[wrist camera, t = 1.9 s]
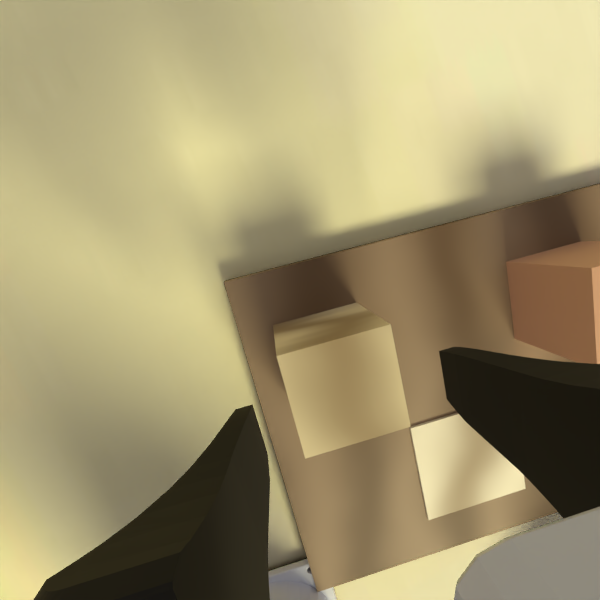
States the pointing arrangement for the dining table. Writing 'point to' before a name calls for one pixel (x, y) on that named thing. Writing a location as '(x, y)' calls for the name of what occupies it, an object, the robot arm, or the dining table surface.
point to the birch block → (341, 377)
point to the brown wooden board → (408, 385)
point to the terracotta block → (558, 300)
